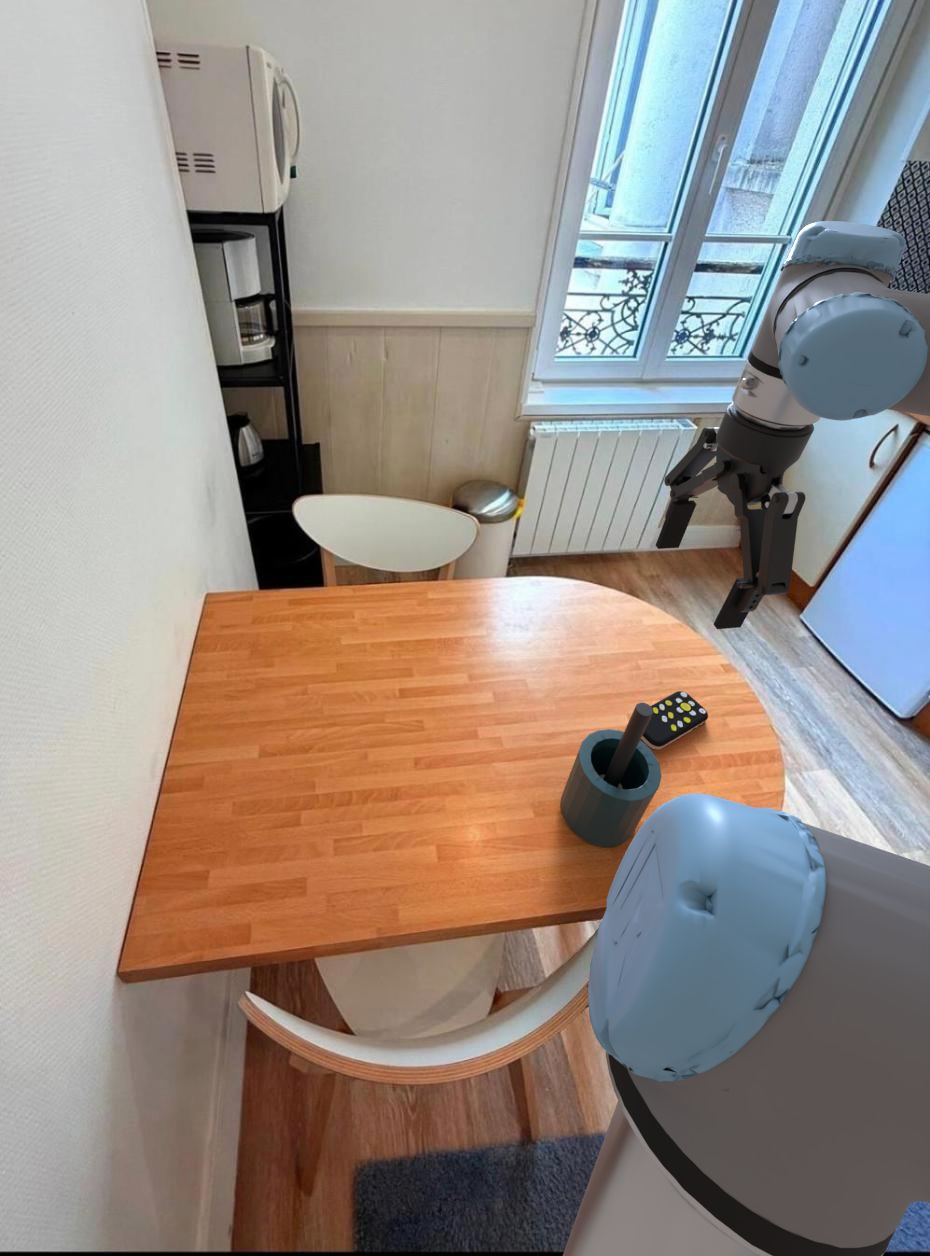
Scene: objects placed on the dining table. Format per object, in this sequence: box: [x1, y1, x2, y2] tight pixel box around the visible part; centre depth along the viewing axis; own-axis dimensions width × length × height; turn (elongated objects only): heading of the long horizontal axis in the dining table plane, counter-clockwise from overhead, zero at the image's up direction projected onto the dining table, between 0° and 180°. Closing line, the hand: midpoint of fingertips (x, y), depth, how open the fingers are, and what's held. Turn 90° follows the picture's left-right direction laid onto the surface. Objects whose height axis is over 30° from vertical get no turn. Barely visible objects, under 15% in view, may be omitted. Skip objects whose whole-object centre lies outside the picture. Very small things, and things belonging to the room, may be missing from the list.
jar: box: [560, 728, 662, 849], centre depth 81 cm, size 10×10×12 cm
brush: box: [599, 702, 653, 789], centre depth 78 cm, size 4×4×22 cm
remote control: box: [641, 690, 709, 751], centre depth 97 cm, size 6×13×2 cm, turn 120°
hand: (694, 583), depth 70 cm, fingers open, 13 cm apart
